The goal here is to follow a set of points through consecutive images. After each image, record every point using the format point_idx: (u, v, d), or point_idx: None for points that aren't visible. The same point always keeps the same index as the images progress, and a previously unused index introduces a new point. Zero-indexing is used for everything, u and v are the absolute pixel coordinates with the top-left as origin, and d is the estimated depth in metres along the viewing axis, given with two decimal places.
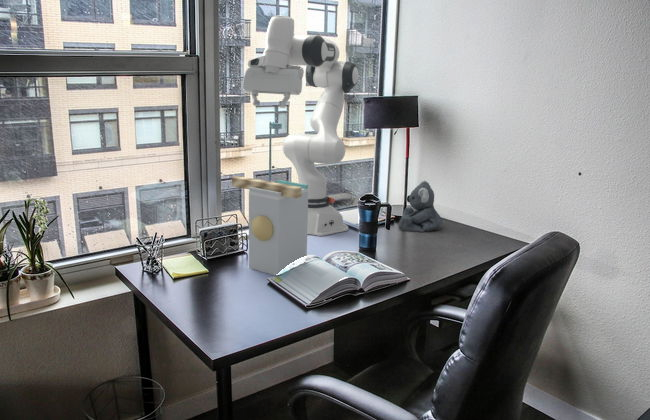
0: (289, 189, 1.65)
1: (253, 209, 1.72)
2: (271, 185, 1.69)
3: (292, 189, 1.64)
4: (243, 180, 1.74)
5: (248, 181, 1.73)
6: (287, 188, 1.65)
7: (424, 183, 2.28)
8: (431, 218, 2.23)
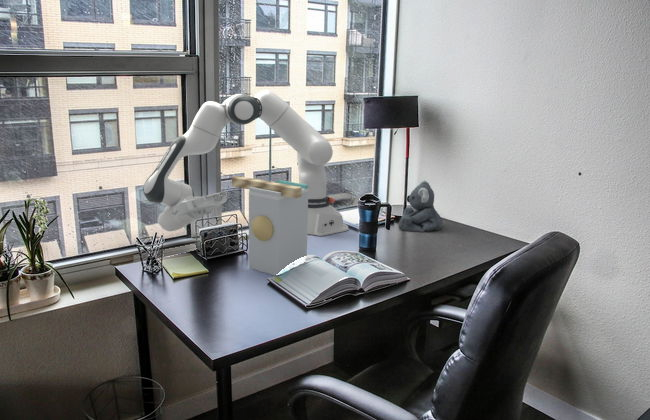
0: (289, 189, 1.65)
1: (253, 209, 1.72)
2: (271, 185, 1.69)
3: (292, 189, 1.64)
4: (243, 180, 1.74)
5: (248, 181, 1.73)
6: (287, 188, 1.65)
7: (424, 183, 2.28)
8: (431, 218, 2.23)
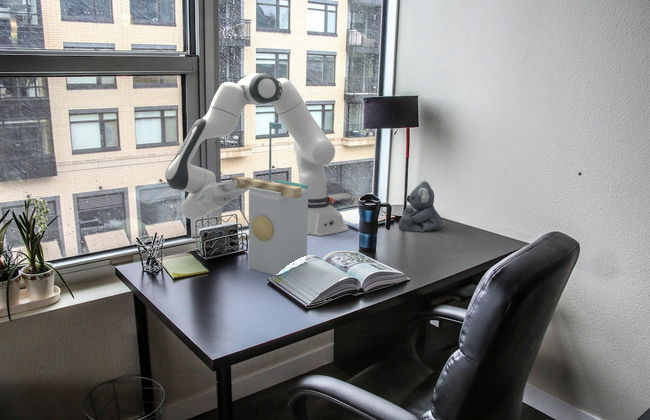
0: (289, 189, 1.65)
1: (253, 209, 1.72)
2: (271, 185, 1.69)
3: (292, 189, 1.64)
4: (243, 180, 1.74)
5: (248, 181, 1.73)
6: (287, 188, 1.65)
7: (424, 183, 2.28)
8: (431, 218, 2.23)
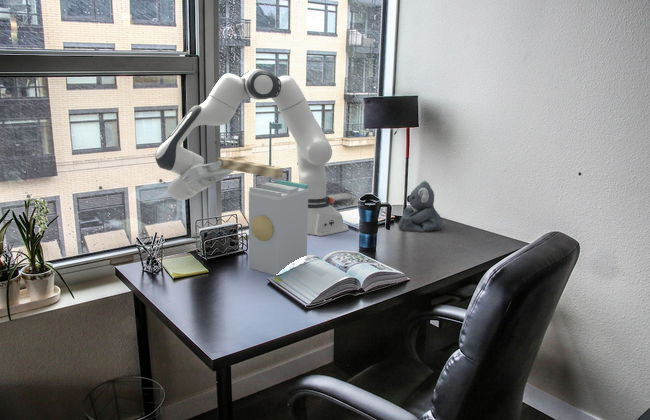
0: (270, 169, 1.72)
1: (253, 209, 1.72)
2: (253, 166, 1.75)
3: (273, 169, 1.71)
4: (227, 161, 1.81)
5: (231, 162, 1.80)
6: (268, 168, 1.72)
7: (424, 183, 2.28)
8: (431, 218, 2.23)
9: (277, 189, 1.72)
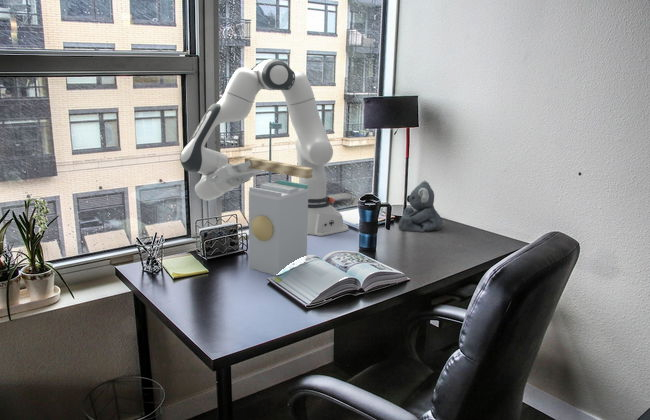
0: (300, 170, 1.72)
1: (253, 209, 1.72)
2: (283, 166, 1.76)
3: (303, 170, 1.72)
4: (256, 161, 1.82)
5: (261, 162, 1.81)
6: (299, 169, 1.73)
7: (424, 183, 2.28)
8: (431, 218, 2.23)
9: (277, 189, 1.72)
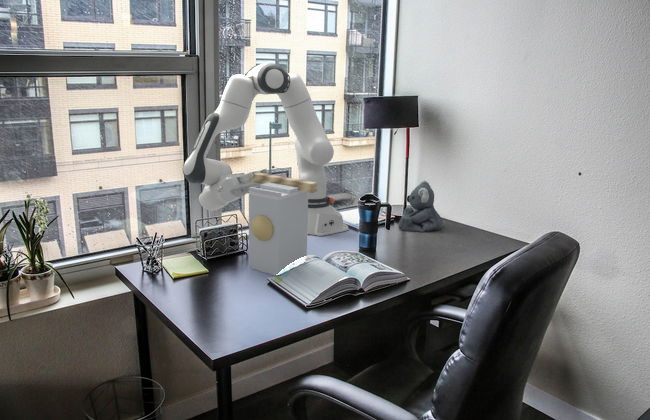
0: (305, 184, 1.72)
1: (253, 209, 1.72)
2: (288, 180, 1.76)
3: (308, 184, 1.72)
4: (260, 176, 1.82)
5: (265, 177, 1.81)
6: (303, 183, 1.73)
7: (424, 183, 2.28)
8: (431, 218, 2.23)
9: (277, 189, 1.72)
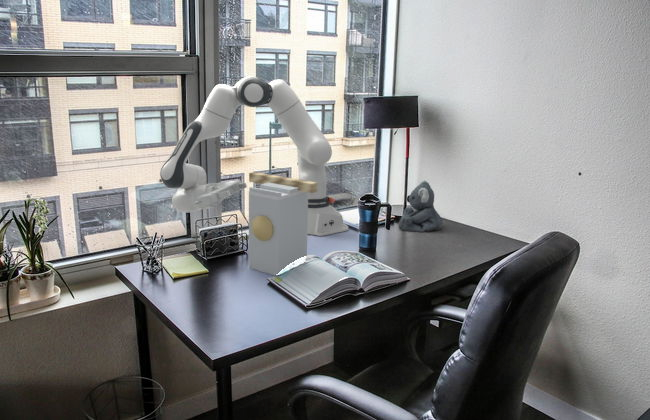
0: (305, 184, 1.72)
1: (253, 209, 1.72)
2: (288, 180, 1.76)
3: (308, 184, 1.72)
4: (260, 176, 1.82)
5: (265, 177, 1.81)
6: (303, 183, 1.73)
7: (424, 183, 2.28)
8: (431, 218, 2.23)
9: (277, 189, 1.72)
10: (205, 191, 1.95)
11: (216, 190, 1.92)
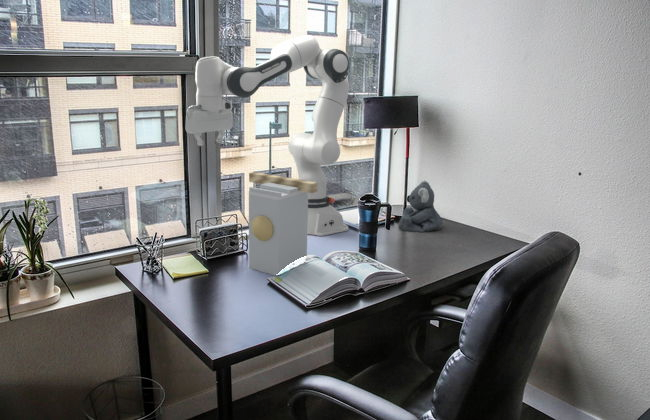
0: (305, 184, 1.72)
1: (253, 209, 1.72)
2: (288, 180, 1.76)
3: (308, 184, 1.72)
4: (260, 176, 1.82)
5: (265, 177, 1.81)
6: (303, 183, 1.73)
7: (424, 183, 2.28)
8: (431, 218, 2.23)
9: (277, 189, 1.72)
10: (208, 110, 1.85)
11: (205, 127, 1.86)
